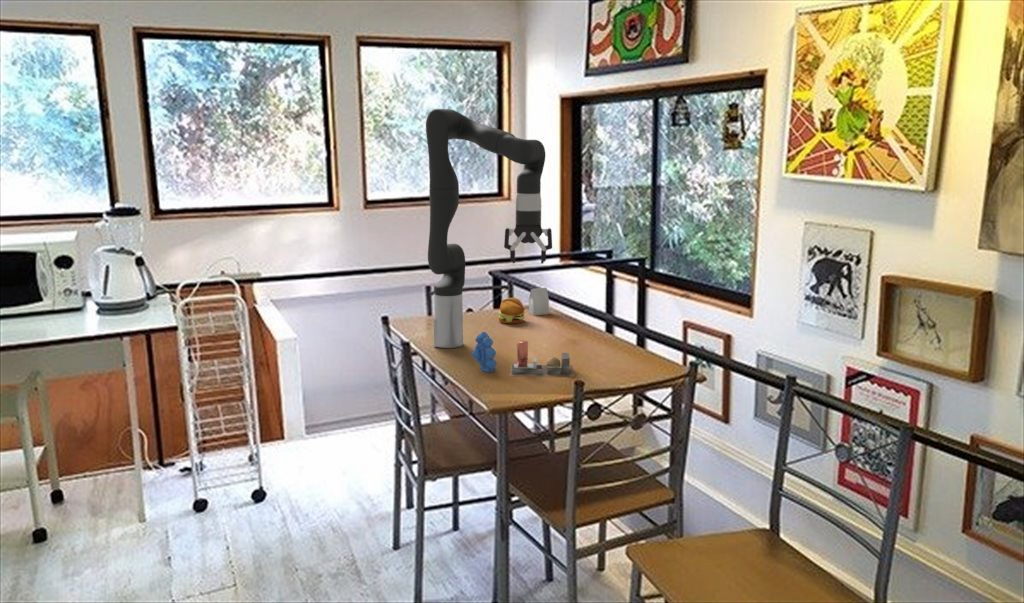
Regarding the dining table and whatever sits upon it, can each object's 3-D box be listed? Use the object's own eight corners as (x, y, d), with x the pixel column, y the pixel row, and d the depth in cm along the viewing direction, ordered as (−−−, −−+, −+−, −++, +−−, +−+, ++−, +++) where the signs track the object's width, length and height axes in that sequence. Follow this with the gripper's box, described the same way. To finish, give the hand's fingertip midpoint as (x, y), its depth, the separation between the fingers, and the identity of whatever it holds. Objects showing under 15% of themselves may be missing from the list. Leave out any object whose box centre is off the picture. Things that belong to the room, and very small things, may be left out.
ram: (513, 371, 215) (513, 343, 213) (513, 367, 219) (513, 339, 217) (536, 371, 215) (536, 343, 213) (536, 367, 219) (536, 340, 217)
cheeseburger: (522, 317, 289) (524, 293, 285) (526, 330, 280) (528, 305, 275) (496, 317, 288) (497, 293, 284) (499, 330, 278) (500, 306, 274)
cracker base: (509, 381, 212) (509, 360, 211) (510, 369, 223) (510, 350, 221) (574, 381, 212) (574, 361, 210) (572, 370, 222) (572, 350, 221)
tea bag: (548, 313, 295) (548, 288, 293) (533, 315, 292) (533, 290, 290) (544, 312, 298) (544, 287, 296) (528, 313, 296) (528, 288, 294)
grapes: (464, 369, 223) (464, 329, 221) (486, 366, 226) (485, 327, 223) (479, 380, 213) (478, 339, 210) (501, 377, 215) (501, 336, 213)
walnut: (546, 372, 215) (546, 359, 214) (546, 368, 219) (546, 355, 218) (560, 372, 215) (560, 359, 214) (560, 368, 219) (560, 355, 218)
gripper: (503, 209, 221) (503, 264, 224) (552, 210, 220) (552, 265, 224) (504, 207, 228) (504, 260, 231) (552, 207, 228) (551, 261, 231)
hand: (528, 263), depth 228 cm, fingers open, 8 cm apart
